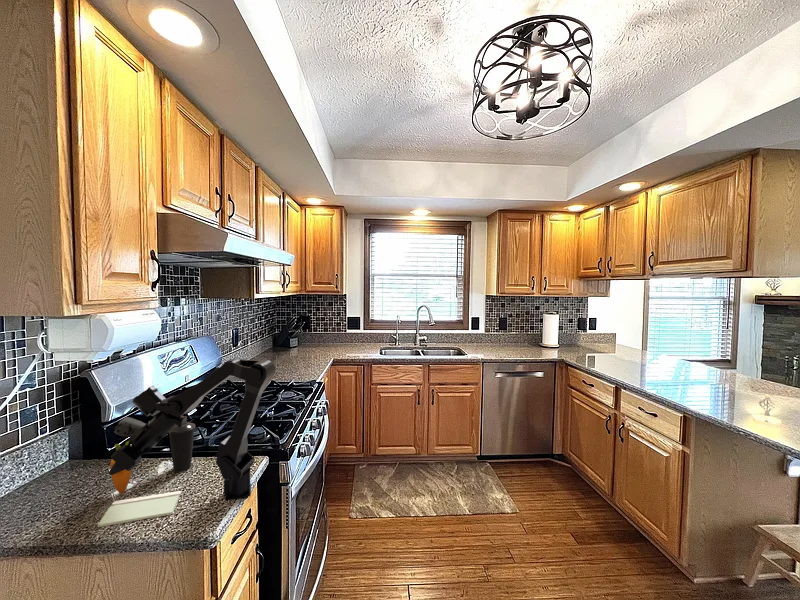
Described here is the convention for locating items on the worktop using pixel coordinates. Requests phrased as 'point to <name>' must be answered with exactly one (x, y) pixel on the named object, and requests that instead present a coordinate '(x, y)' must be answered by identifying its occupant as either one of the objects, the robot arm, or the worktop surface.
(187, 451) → the drinking cup
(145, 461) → the worktop surface
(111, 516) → the mat
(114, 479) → the carrot
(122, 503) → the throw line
